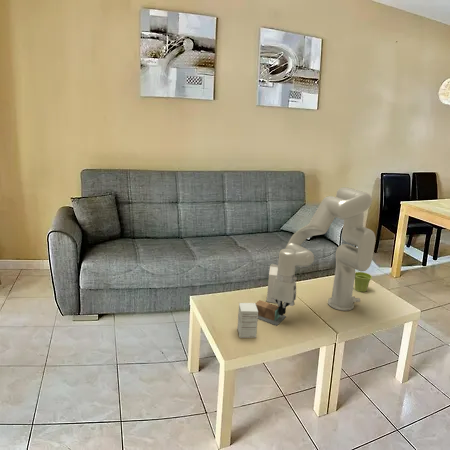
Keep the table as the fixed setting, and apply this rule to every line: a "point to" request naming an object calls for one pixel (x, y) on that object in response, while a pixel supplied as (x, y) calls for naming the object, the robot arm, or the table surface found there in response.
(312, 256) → the robot arm
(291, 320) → the table surface
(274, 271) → the milk carton
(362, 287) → the plant pot
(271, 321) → the mat
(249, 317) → the supplement box
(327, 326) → the table surface
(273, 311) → the walnut block
